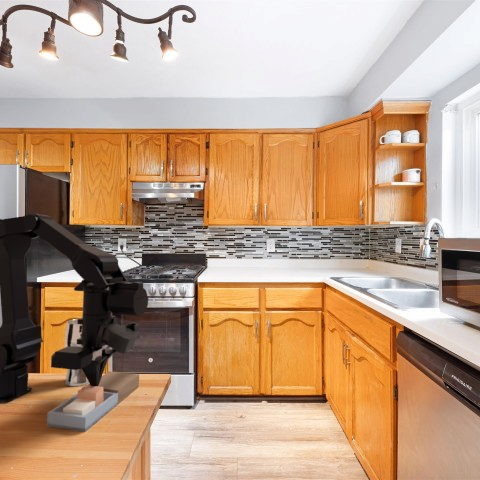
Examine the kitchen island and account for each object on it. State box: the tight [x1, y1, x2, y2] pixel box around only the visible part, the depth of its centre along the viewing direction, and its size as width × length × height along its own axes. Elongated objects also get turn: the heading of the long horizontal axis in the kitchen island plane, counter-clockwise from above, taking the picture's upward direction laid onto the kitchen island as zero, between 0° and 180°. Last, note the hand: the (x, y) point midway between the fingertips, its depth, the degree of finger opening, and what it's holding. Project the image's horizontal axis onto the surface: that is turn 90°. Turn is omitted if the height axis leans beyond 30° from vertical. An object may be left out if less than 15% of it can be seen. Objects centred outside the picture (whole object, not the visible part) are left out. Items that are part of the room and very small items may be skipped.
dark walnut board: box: [87, 371, 140, 405], centre depth 71 cm, size 8×9×3 cm
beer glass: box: [64, 318, 90, 387], centre depth 78 cm, size 7×7×15 cm
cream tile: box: [63, 399, 96, 416], centre depth 60 cm, size 4×4×2 cm
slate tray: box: [46, 391, 119, 433], centre depth 62 cm, size 8×10×2 cm
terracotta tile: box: [77, 384, 103, 408], centre depth 63 cm, size 4×4×2 cm
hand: (94, 387), depth 65 cm, fingers closed
